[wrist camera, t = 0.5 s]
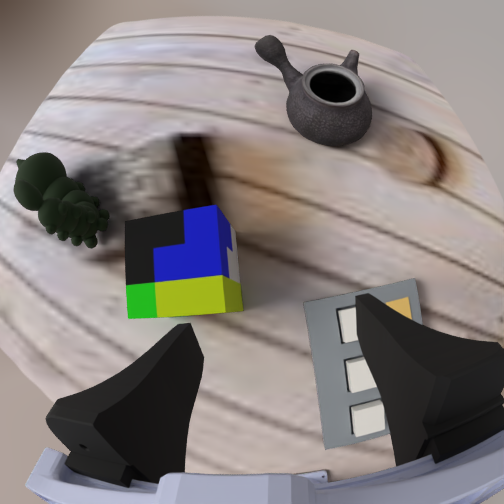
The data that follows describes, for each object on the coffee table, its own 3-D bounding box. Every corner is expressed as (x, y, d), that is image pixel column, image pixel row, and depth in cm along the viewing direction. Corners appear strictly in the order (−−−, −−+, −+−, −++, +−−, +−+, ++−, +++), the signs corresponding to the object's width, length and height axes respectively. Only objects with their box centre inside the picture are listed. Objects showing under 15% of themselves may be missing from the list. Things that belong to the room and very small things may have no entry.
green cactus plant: (139, 218, 41) (57, 155, 44) (63, 171, 22) (-6, 110, 25) (107, 270, 40) (31, 196, 43) (18, 254, 21) (-37, 163, 24)
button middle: (378, 381, 29) (382, 385, 28) (349, 389, 30) (352, 393, 28) (374, 353, 30) (379, 356, 28) (345, 360, 30) (348, 363, 29)
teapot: (385, 98, 38) (400, 55, 28) (349, 165, 37) (364, 124, 27) (283, 56, 42) (280, 13, 32) (234, 112, 41) (220, 67, 31)
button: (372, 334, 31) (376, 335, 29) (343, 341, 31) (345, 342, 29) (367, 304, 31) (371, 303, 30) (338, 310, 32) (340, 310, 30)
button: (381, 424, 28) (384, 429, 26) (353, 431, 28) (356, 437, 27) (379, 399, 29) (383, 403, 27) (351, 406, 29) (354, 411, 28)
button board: (422, 415, 29) (429, 420, 27) (323, 443, 30) (325, 450, 28) (408, 279, 33) (415, 277, 31) (303, 302, 34) (304, 302, 32)
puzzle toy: (235, 231, 37) (216, 204, 27) (243, 311, 35) (225, 312, 25) (162, 242, 38) (125, 221, 28) (167, 317, 36) (128, 318, 26)
